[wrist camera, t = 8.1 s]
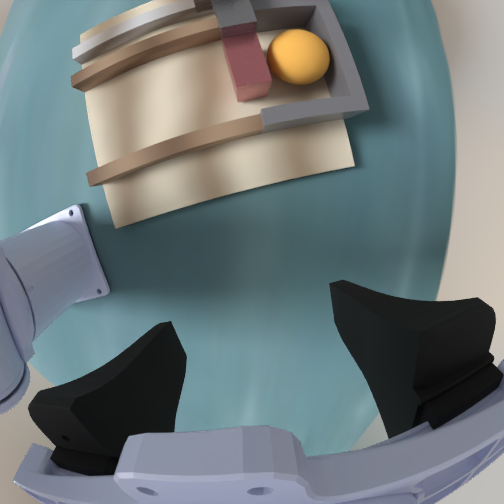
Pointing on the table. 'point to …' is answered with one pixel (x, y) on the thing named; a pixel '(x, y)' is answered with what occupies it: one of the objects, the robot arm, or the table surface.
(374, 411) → the table surface
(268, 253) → the table surface
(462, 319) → the robot arm
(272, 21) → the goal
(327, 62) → the ball
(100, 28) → the beige grooved board
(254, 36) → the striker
